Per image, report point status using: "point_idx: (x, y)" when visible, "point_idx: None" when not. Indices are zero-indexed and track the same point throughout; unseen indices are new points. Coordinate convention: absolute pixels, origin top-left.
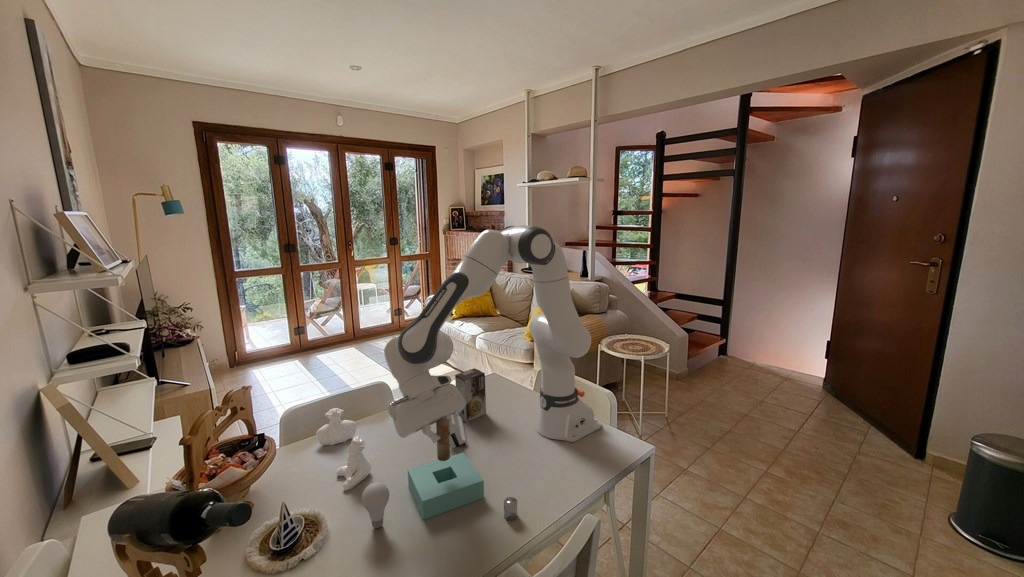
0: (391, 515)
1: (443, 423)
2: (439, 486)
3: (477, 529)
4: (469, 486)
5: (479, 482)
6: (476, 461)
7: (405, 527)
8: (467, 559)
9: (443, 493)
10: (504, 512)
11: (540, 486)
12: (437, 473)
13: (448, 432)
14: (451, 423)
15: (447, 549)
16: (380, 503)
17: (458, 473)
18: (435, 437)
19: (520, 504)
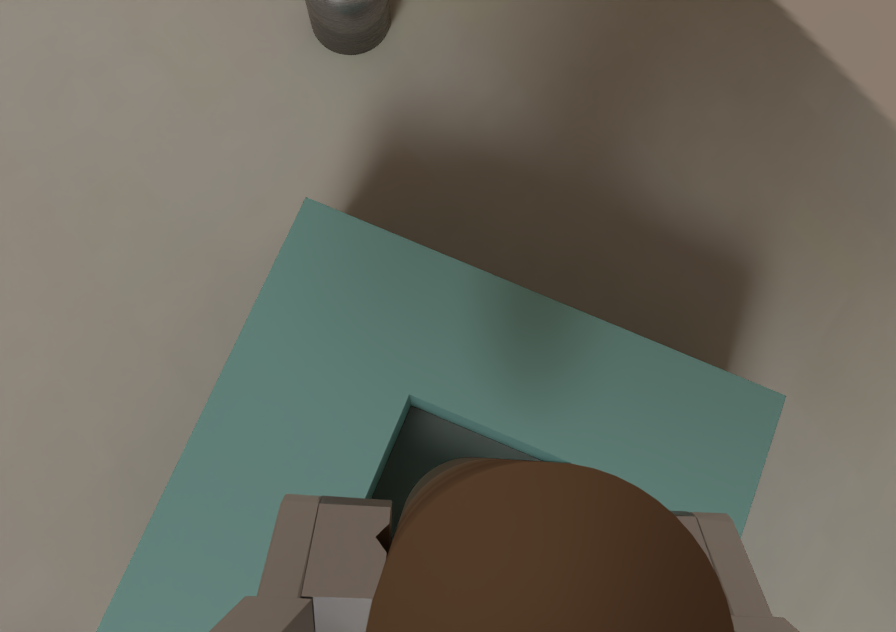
0: (840, 611)
1: (595, 552)
2: (587, 426)
3: (549, 99)
4: (421, 247)
5: (340, 213)
6: (21, 586)
7: (830, 444)
8: (722, 11)
9: (621, 334)
10: (383, 12)
11: (10, 24)
12: None
13: (466, 467)
14: (232, 627)
15: (753, 130)
16: None
17: (368, 426)
18: (732, 551)
19: (233, 29)
